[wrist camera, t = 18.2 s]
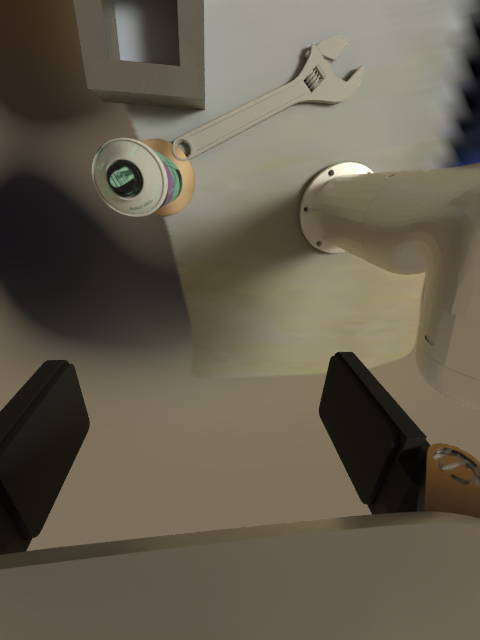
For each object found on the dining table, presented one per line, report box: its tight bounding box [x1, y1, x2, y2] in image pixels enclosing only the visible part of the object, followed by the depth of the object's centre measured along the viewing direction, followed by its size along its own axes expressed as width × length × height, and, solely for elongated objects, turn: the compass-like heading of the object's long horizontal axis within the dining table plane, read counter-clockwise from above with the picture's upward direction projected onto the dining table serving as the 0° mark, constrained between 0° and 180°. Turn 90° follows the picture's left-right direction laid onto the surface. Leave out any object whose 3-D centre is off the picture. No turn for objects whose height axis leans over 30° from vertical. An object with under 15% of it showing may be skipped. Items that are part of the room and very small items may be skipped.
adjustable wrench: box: [172, 37, 364, 161], centre depth 34 cm, size 25×6×2 cm, turn 109°
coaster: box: [142, 139, 195, 216], centre depth 36 cm, size 9×9×1 cm
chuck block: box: [73, 0, 205, 110], centre depth 28 cm, size 12×12×5 cm
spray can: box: [92, 138, 183, 217], centre depth 27 cm, size 6×6×20 cm
